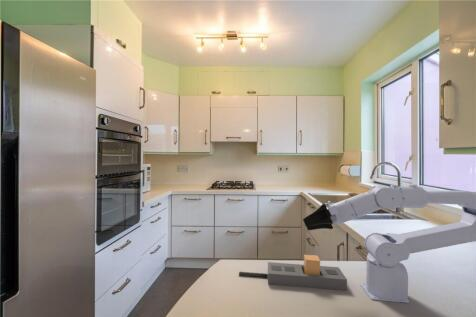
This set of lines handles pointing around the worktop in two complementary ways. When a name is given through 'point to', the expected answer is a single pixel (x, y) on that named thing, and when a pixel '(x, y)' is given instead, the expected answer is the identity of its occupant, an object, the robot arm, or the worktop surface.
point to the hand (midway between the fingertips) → (305, 225)
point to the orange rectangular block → (311, 265)
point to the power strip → (302, 276)
